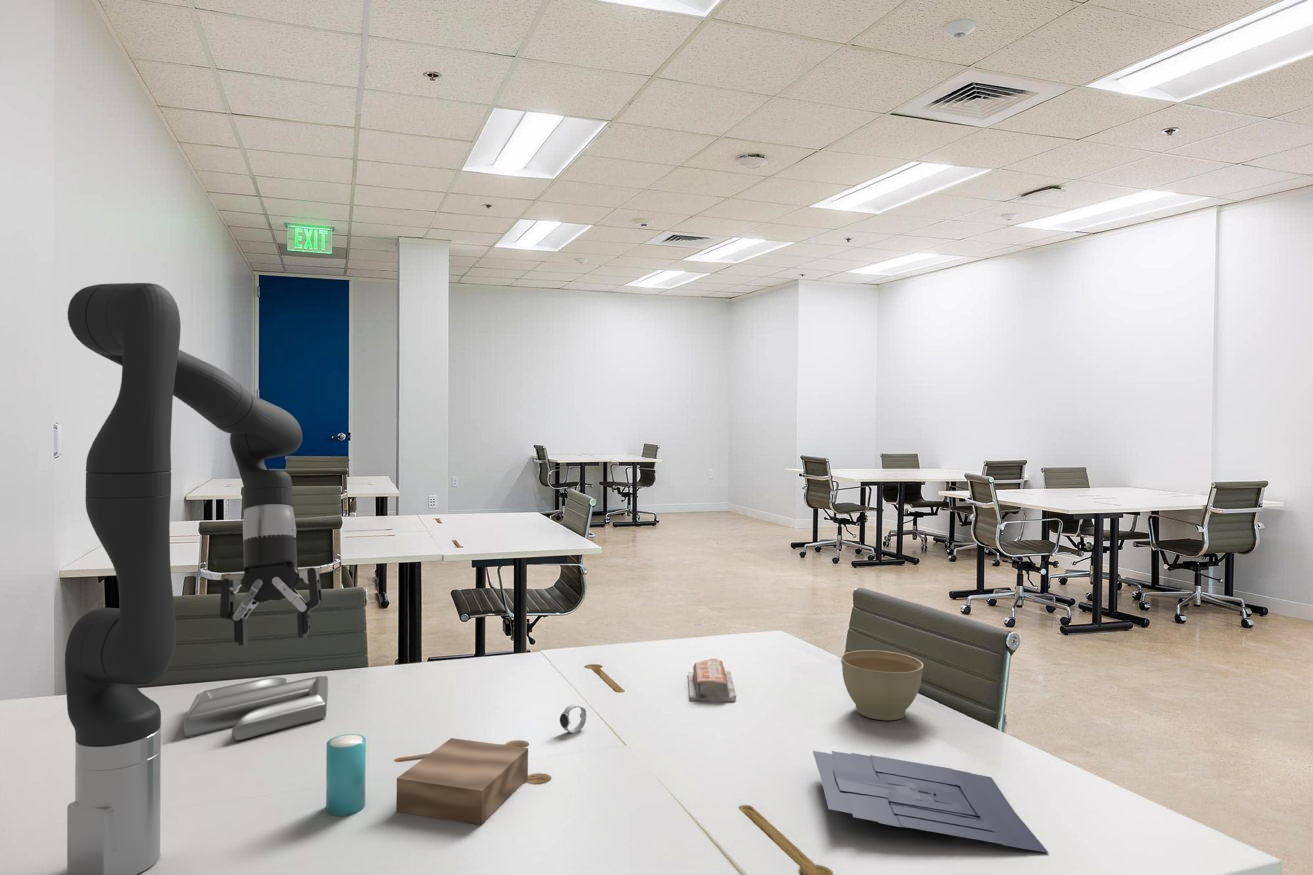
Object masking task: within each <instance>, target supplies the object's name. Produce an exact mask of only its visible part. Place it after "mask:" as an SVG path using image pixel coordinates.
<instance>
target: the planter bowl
mask: <svg viewBox="0 0 1313 875" xmlns="http://www.w3.org/2000/svg"><path fill="white" fill-rule="evenodd" d="M840 657H841V658H840V662H841V665H842V666H841V667H842V670H841V671H842V677H843V678H842V679H843V682H844V685H845V687H846V691H847V692H848V695H849V697H850V699H851V700H852V702H853V703H854V704H855V709H856V712H857V713H858V714H860V715H861V716H863V717H865V718H868V719H873V720H878V721H897V720H900V719H903V718H904V717H905V715H906V710H908V709H909V707H910V706H911V705H912V704H913V702H914V701H915V699H916V697H917V695H918V693H919V690H920V688H921V683H922V674H923V671H924V663H923V662H922V661H921V660H919V659H917V658H916V657H912V656H910V655H907V654H903V653H899V652H895V651H894V652H892V651H887V650H886V651H885V650H875V649H874V650H873V649H871V650H869V649H867V650H864V649H863V650H861V649H860V650H853V651H849V652H845V653H843V654H842V655H841V656H840Z"/></svg>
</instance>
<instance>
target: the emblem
mask: <svg viewBox="0 0 1313 875" xmlns="http://www.w3.org/2000/svg"><path fill="white" fill-rule="evenodd" d="M328 678H329V677H328V676H327V675H325V676H322V675H318V676H313V677H308V678H303V679H299V680H293V681H289V682H287V681H288V680H287V678H284V677H280V676H279V677H278V676H277V677H265V678H260V679H256V680H255V679H254V680H250V681H245V682H240V683H235V684H231V685H226V686H225V685H224V686H221V687H217V688H216V687H215V688H211V689H207V690H204V691H202V692H200V693H196V695H195V697H194V699H193V701H192V703H191V706H190V707H189V709H188V710H187V714H186V715H185V717H184V721H183V736H184V737H183V738H185V739H188V738H194V737H198V736H201V735H206V734H210V733H215V732H218V731H222V730H226V729H230V728H232V730H231V737H232V738H233V739H235V740H236V741H242V740H244V741H245V740H247V739H250V738H254V737H258V736H262V735H265V734H269V733H273V732H276V731H280V730H284V729H288V728H291V727H295V726H298V725H303V724H307V723H310V722H315V721H317V720H322V719H324V718H326V716H327V711H328V710H327V709H328V697H329V696H328V695H329V679H328Z"/></svg>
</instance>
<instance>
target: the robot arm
mask: <svg viewBox="0 0 1313 875" xmlns="http://www.w3.org/2000/svg"><path fill="white" fill-rule="evenodd" d="M67 308H68V309H67V321H68V325H69V328H70V329H71V332H72V333H73V335H74V336H75V337H76V338H75V339H77V340H78V341H79V342H80V344H82V345H83V346H84V347H86V348H87V349H89V351H90V350H91V351H92V352H94V353H96V354H98V355H100V356H102V357H104V358H105V359H107V360H110V361H111V362H114V363H116V364H117V365H120V366H122V369H121V382H120V388H119V391H118V396H117V399H116V401H115V403H114V406H113V408H112V409H111V411H110V413H109V414H108V416H107V418H106V419H105V421H104V423H103V424H102V426H101V428H100V429H99V430H98V433H97V435H96V437H95V438H94V440H93V441H92V444H91V446H90V449H89V450H88V453H87V457H86V461H85V462H86V464H85V497H84V498H85V509H86V512H87V514H86V515H87V517H88V520H89V521H90V525H91V526H92V528H93V530H94V532H95V535H96V536H97V539H98V540H99V542H100V544H101V546H102V547H103V549H104V550H105V552H106V554H107V556H108V558H109V559H110V562H111V564H112V566H113V569H114V571H115V575H116V578H117V584H118V597H119V599H118V600H119V602H118V604H119V608H116V607H114V608H113V607H100V608H95V609H92V610H91V611H90V610H89V611H88V612H86V613H85V614H84V615H82V616H81V617H80V618H79V619H78V620H77V621H76V622H75V624H74V625H73V627H72V628H71V630H70V633H69V635H68V639H67V641H66V645H65V652H64V673H65V674H64V676H65V689H66V690H65V692H66V706H67V716H68V718H69V720H70V721H69V722H70V723H71V725H72V727H73V728H74V733H75V736H74V738H75V740H74V741H75V758H74V759H75V760H74V761H75V766H74V769H75V771H74V772H75V773H74V774H75V775H74V778H75V779H74V785H75V786H74V788H75V789H74V792H75V793H74V794H75V795H74V801H71V802H70V803H68V804H67V809H66V812H67V813H66V814H67V815H66V816H67V817H66V820H67V821H66V824H67V825H66V826H67V828H66V829H67V830H66V831H67V832H66V842H67V843H66V847H67V848H66V862H67V863H66V865H67V866H66V875H138V874H141V873H142V872H144V871H146V870H147V869H150V868H151V867H152V866H154V865H155V864H156V863H157V862H158V860H159V858H160V856H161V793H162V792H161V788H162V787H161V786H162V785H161V780H162V779H161V778H162V776H161V774H162V773H161V771H162V770H161V768H162V766H161V761H162V760H161V758H162V757H161V755H162V753H161V748H162V744H161V743H162V713H161V708H160V705H159V704H158V703H157V702H156V701H154V700H152V699H151V698H149V697H148V696H146V695H145V694H144V693H143V692H141V691H140V689H139V688H138V687H137V686H138V685H148V684H151V683H153V682H155V681H157V680H159V679H160V678H161V677H162V676H163V675H164V674H165V672H166V671H167V670H168V668H169V666H170V665H171V664H172V663H171V662H172V661H173V658H174V654H175V651H176V644H177V622H176V611H175V610H176V609H175V601H174V600H175V599H174V591H173V590H174V589H173V581H172V571H171V570H172V569H171V538H170V537H171V535H170V534H171V532H170V531H171V528H170V527H171V526H170V524H171V523H170V520H171V519H170V517H171V516H170V515H171V514H170V513H171V498H172V497H171V496H172V454H171V452H172V451H171V450H172V447H171V446H172V445H171V444H172V442H171V441H172V439H171V438H172V422H173V421H172V418H173V416H172V415H173V402H174V401H173V400H174V397H175V398H177V399H178V400H180V401H181V402H183V403H184V404H185V405H187V406H189V407H190V408H192V409H193V411H195V412H197V414H199V415H200V416H201V417H203V418H204V419H205V420H207V421H208V422H209V423H210V424H212V425H214V427H216V428H217V429H218V430H220V431H221V432H225V433H227V434H230V437H229V444H230V447H231V451H232V455H233V457H234V460H235V463H236V466H237V469H238V472H239V475H240V478H241V482H242V486H243V509H244V510H243V520H242V538H243V539H242V540H243V541H242V544H243V545H242V546H243V547H242V548H243V575H242V577H241V578H235V579H230V578H223V579H222V580H221V582H220V584H221V585H220V586H221V587H220V606H219V616H220V618H222V619H227V620H230V621H232V622H233V631H234V632H233V634H234V636H233V637H234V642H235V643H236V644H238V646H239V647H246V646H249V623H248V620H247V618H248V617H249V616H250V614H251V613H252V611H254V609H255V608H256V607H257V606H258V604H259V603H260V604H268V603H271V602H282V601H285V600H288V601H289V602H291V603H292V605H293V606H294V607H296V609H297V610H298V612H297V614H296V615H297V616H296V618H297V637H298V639H305V638H307V636H308V635H307V634H310V632H311V611H313V610H314V609H316V608H320V607H322V606H323V602H324V601H323V594H322V593H323V592H322V585H321V584H322V583H321V576H320V571H319V570H318V569H317V568H314V567H310V568H308V569H306V570H299V568H298V556H297V555H298V554H297V526H296V518H295V514H294V513H295V512H294V503H293V502H294V500H293V481H292V477H291V475H290V474H289V473H288V472H286V471H283V470H279V469H278V470H277V469H267V466H266V465H265V460H266V459H267V460H268V459H272V458H277V457H285V456H289V455H290V454H293V453H295V452H297V450H298V449H299V448H300V447H301V444H302V443H303V431H302V428H301V425H300V424H299V421H298V420H297V419H296V418H295V417H294V416H293V415H292V414H291V413H290V412H288V411H286V410H285V409H283V408H281V407H279V406H277V405H275V404H273V403H271V402H269V401H266V400H265V399H262V398H260V397H257V396H255V395H253V394H252V393H251V392H250V391H249V390H247V388H245V387H244V386H243V385H242V384H241V383H239V382H238V381H237V380H236V379H235V378H234V377H232V376H231V375H230V374H228V373H227V372H225V371H224V370H222V369H220V368H218V367H216V366H215V365H213V364H211V363H208V362H207V361H204V360H202V359H201V358H198V357H196V356H193V355H191V354H189V353H187V352H184V350H182V349H181V350H180V342H181V317H180V311H179V307H178V305H177V302H176V300H175V298H174V296H173V295H172V294H171V292H170V291H169V290H168V289H166V288H165V287H163V285H159V284H156V283H150V282H128V283H127V282H126V283H125V282H122V283H116V282H115V283H99V284H94V285H88V286H86V287H83V288H81V289H79V290H78V291H77V292H76V293H74V295H73V296H72V298H71V299H70V301H69V303H68V307H67ZM301 579H303V581H304V583H305V584H308V585H307V586H308V593H309V600H308V601H306V600H305V599H304V597H303V596H302V595H301V594H300V593H299V591H297V589H295V588H296V587H297V585H298V584H299V582H300V581H301ZM240 587H242V588H243V589H244V590H245V591H246V592H247V593H246V594H245V596H244V597H243V599H242V600H241V601H240V603H239V604H240V605H239V606H238V608H237V609H236V611H235V604H236V602H235V601H236V594H237V593H238V592H239V590H240Z"/></svg>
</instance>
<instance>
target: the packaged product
mask: <svg viewBox="0 0 1313 875" xmlns="http://www.w3.org/2000/svg"><path fill="white" fill-rule="evenodd" d="M692 670H693V671H688V672H687V673H688V677H687V679H688V692H689V701H690V700H695V701H694V702H718V701H735V702H736V700H737V695H736V694H737V693H736V689H735V685H734V681H733V676H732V672H731V670H725V667H724V663H723V660H720V659H718V658H710V659H705V660H701V661H697V662H695V663H694V664H693V667H692Z"/></svg>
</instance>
